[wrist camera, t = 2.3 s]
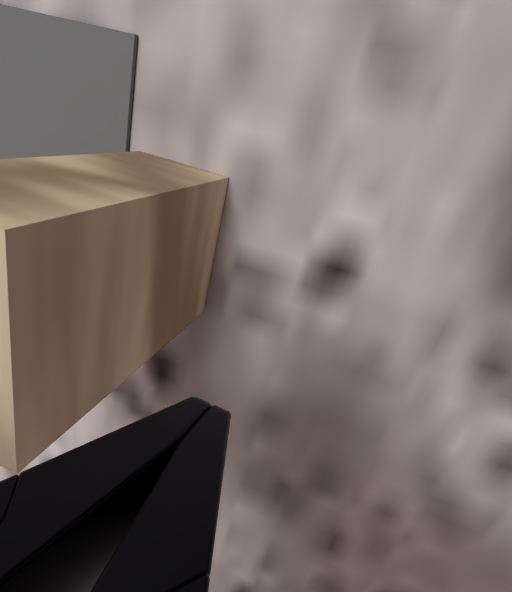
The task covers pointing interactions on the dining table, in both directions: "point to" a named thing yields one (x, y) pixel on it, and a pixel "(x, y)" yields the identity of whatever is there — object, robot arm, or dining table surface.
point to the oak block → (93, 280)
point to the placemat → (63, 86)
